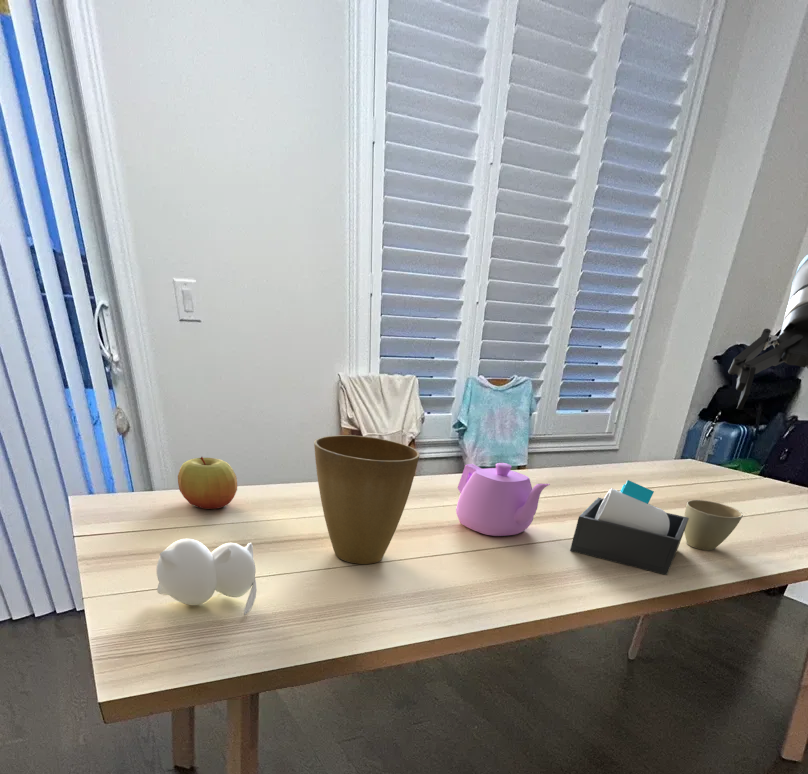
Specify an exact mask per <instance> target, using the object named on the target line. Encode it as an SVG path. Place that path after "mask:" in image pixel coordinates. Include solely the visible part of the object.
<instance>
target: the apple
mask: <svg viewBox="0 0 808 774" xmlns="http://www.w3.org/2000/svg"><path fill="white" fill-rule="evenodd" d="M177 485H178V489H179V490H178V491H179V492H180V494H181V495H182V497H183V498H184V499H185V500H186V501H187V502H188V503H189V504H190V505H192V506H193V507H195V508H199V509H204V510H218V509H222V508H223V507H226V506H228V505H229V504H231V502H232V501H233V499H234V498H235V496H236V494H237V491H238V478H237V475H236V473H235V471H234V469H233V468H232V466H231V465H230V464H229V463H228V462H226V461H225V460H222V459H219V458H215V457H203V456H201V457H194V458H190V459H188V460H187V461H186V460H185V461H184V462H183V463H182V465H181V466H180V468H179V471H178V474H177Z"/></svg>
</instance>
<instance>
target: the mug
mask: <svg viewBox="0 0 808 774" xmlns="http://www.w3.org/2000/svg"><path fill="white" fill-rule="evenodd" d="M654 493H655V491H654V490H652V489H649V488H647V487H645V486H643V485H641V484H638V483H636V482H634V481H632V480H630V479H628V480H626V483H624V484H622V487H621V489H620V490H617V489H614V488H612V487H611V488H610V489H609V490H608V491H607V493H606V494H605V496H604V497H603V499H604V500H603V501H602V503H601V505H600V507H599V509H598V512H597V514H596V516H595V518H594V519H597V520H602V521H606V522H610V523H614V524H619V525H623V526H627V527H631V528H636V529H640V530H644V531H648V532H653V533H657V534H661V535H665V536H667V534H668V531H669V525H670V522H669V518H668V515H667V514H666V513H667V512H666V511H665V510H664V509H662V508H660V507H657V506H654V505H653V504H650V500H651V499H652V497H653V494H654Z"/></svg>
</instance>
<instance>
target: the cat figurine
mask: <svg viewBox="0 0 808 774" xmlns="http://www.w3.org/2000/svg"><path fill="white" fill-rule="evenodd" d="M254 560H255V559H254V546H253V543H252V542H248V543H247V545H246V546H242V545H240V543H239V544H238V543H236V542H226V543H223V544H221V545H219V546H218V547H216V548H215V549H214V550H213V551H211V550H209V548H208V547H207V546H206V545H205V544H204V543H203V542H200V541H199V540H197V539H194V538H180V539H178V540H176V541H174V542H172V543H171V544H169V545H168V546H167V547H166V548H165V549H164V550H162V551H161V552H159V557H158V561H157V563H156V577H157V580H158V584H157V587H156V591H157V594H158V595H163V596H168V597H171V598H172V599H174V601H177V602H179V603H181V604H184V605H187V606H200V605H202V604H205V603H206V602H208V601H209V600H210V599H211V598H212V596H213V595H214V593H215V591H216V592H217V593H219V594H221V595H224V596H227V597H229V598H241V597H243V596H244V595H246V594H247V593H248V592H249V591H250V592H249V595H248V597H247V600H246V603H245V606H244V609H243V616H244V617H246V616H247V615H248V614H249V613H250V612H251V610H252V608H253V606H254V604H255V600H256V598H257V592H258V591H257V581H256V569H257V568H256V564H255V561H254Z"/></svg>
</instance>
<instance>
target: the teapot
mask: <svg viewBox="0 0 808 774" xmlns="http://www.w3.org/2000/svg"><path fill="white" fill-rule="evenodd" d="M511 469H512V465H511V464H509V463H506V462H497V463H495V467H485V468H482V467H480V466H478V465H476V464H474V463H467V464H465V465H464V468H463V471H462V473H461V477H460V479H459V482H458V485H457V490H458V491H459V493H460V494H459V497H458V499H457V503H456V508H455V514H456V516H457V517H456V518H457V519H458V521H459V523H460V524H461V525H462V526H464V527H466V528H468V529H470V530H472V531H475V532H477V533H480V534H483V535H486V536H493V537H503V536H504V537H505V536H506V537H507V536H514V535H518V534H521V533H524V532H525V531H526V530H527V529H528V528H529V527H530V526H531V524H532V523H533V520H534V516H536V515H535V514H536V513H537V510H538V507H539V501H540V497H541V494H542V492H543V490H544V489H545V488H547V487H549V486H551V484H550V483H537V484H535V485H534V486H533V487H532V482H531V479H530V477H529V476H528V475H526V474H523V473H520V472H517V471H515V470H511Z"/></svg>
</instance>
